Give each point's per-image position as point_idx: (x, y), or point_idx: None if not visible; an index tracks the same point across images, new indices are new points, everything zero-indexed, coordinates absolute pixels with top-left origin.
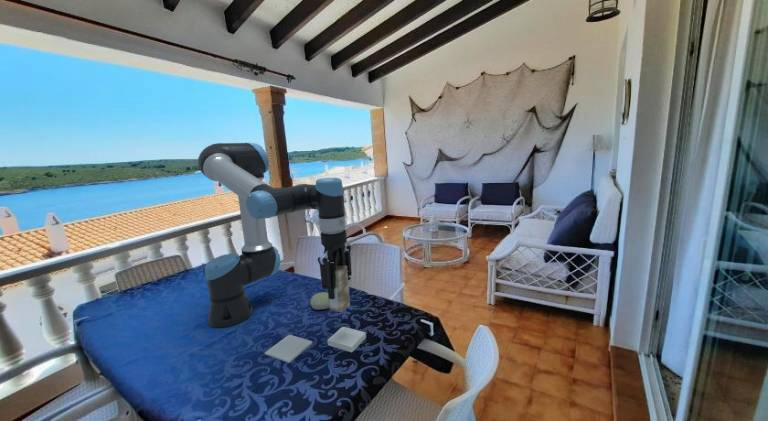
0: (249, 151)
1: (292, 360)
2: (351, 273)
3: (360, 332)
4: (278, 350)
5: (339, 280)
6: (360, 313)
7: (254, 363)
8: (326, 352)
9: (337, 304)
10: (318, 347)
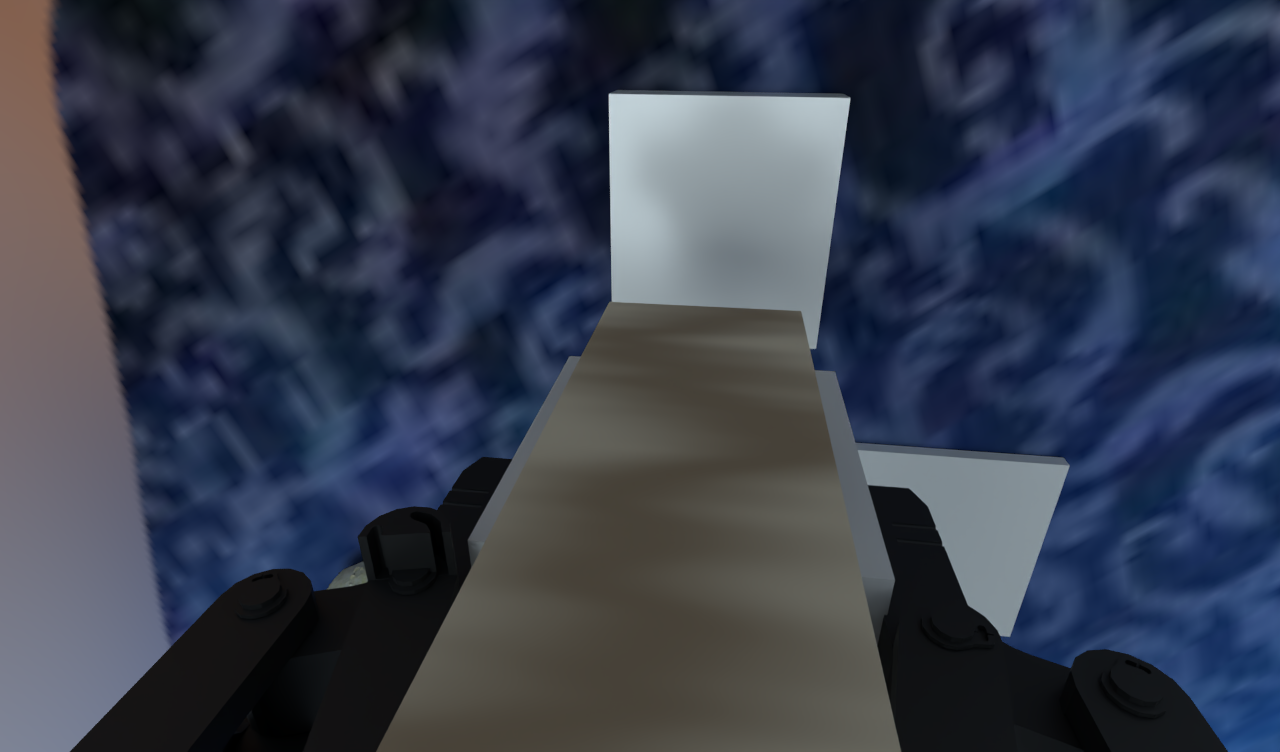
0: None
1: (1033, 455)
2: (230, 591)
3: (627, 142)
4: (972, 582)
5: (858, 666)
6: (358, 319)
7: (1096, 629)
8: (895, 292)
9: (832, 399)
10: (855, 378)
